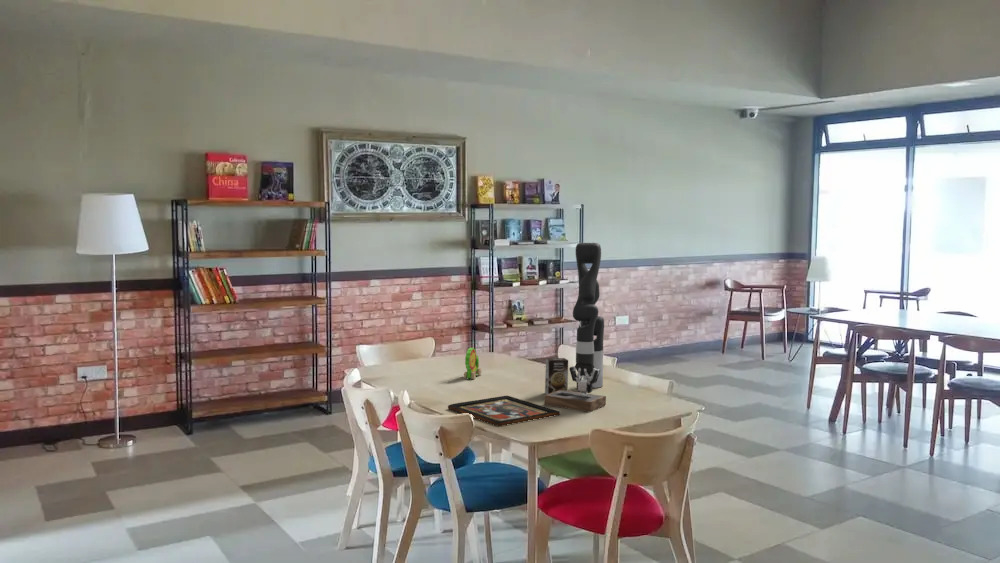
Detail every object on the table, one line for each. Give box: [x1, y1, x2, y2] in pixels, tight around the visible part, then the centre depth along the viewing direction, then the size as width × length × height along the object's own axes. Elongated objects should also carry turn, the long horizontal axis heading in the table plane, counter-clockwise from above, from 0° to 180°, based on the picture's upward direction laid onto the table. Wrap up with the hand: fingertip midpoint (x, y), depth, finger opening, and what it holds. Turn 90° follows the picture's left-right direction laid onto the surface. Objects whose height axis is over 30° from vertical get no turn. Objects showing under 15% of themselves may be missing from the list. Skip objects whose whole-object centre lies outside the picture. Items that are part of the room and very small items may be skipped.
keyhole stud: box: [577, 379, 588, 398], centre depth 341 cm, size 4×4×10 cm
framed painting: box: [447, 395, 561, 427], centre depth 331 cm, size 38×35×3 cm
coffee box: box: [544, 357, 569, 395], centre depth 365 cm, size 9×6×16 cm
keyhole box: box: [543, 390, 607, 413], centre depth 344 cm, size 14×22×4 cm, turn 56°
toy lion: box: [463, 347, 482, 380], centre depth 401 cm, size 16×5×15 cm, turn 164°
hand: (584, 391), depth 341 cm, fingers closed on keyhole stud, 4 cm apart
